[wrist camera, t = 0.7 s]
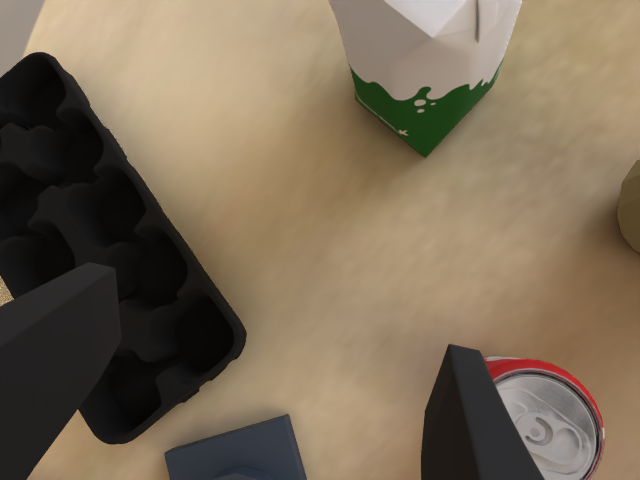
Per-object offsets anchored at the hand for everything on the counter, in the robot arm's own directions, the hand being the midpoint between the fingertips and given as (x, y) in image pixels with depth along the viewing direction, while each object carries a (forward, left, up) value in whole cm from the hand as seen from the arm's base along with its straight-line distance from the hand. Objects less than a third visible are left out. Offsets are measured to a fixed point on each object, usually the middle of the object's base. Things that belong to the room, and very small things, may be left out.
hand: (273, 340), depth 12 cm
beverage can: (-1, -9, -27) cm, 29 cm away
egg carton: (-2, +22, -27) cm, 35 cm away
